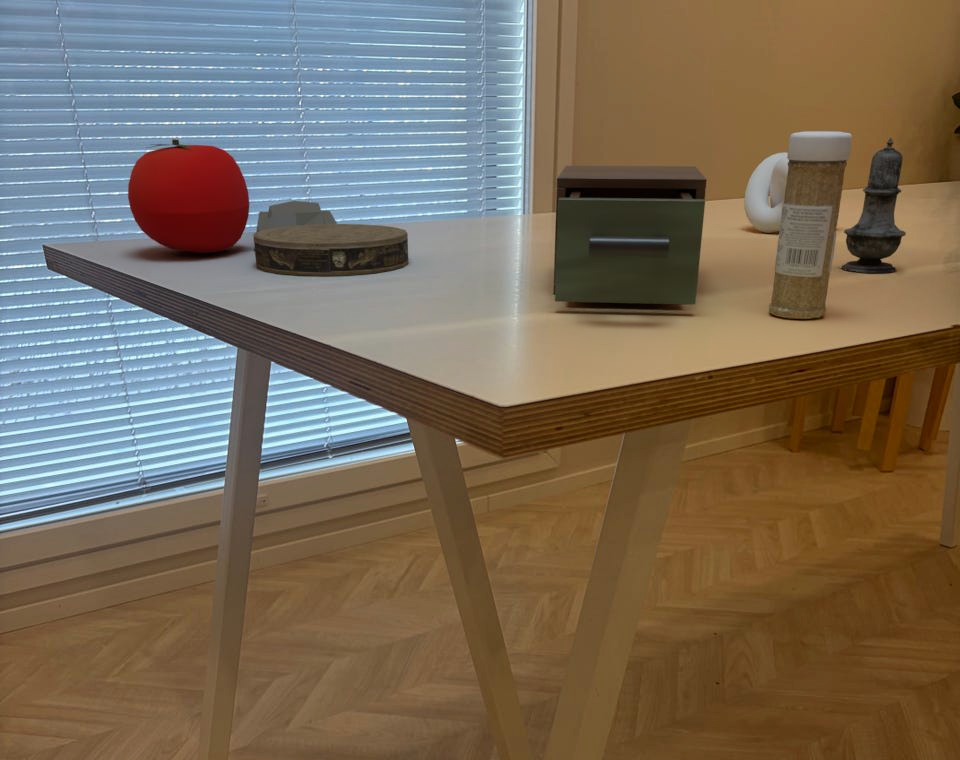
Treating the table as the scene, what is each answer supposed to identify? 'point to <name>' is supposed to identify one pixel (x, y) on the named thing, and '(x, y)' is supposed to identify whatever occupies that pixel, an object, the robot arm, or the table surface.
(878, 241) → the salt shaker
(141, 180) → the tomato
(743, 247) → the table surface
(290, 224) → the soap mold
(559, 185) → the cabinet
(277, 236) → the tin can
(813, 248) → the sprinkles bottle
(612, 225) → the drawer
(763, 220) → the white knot sculpture
